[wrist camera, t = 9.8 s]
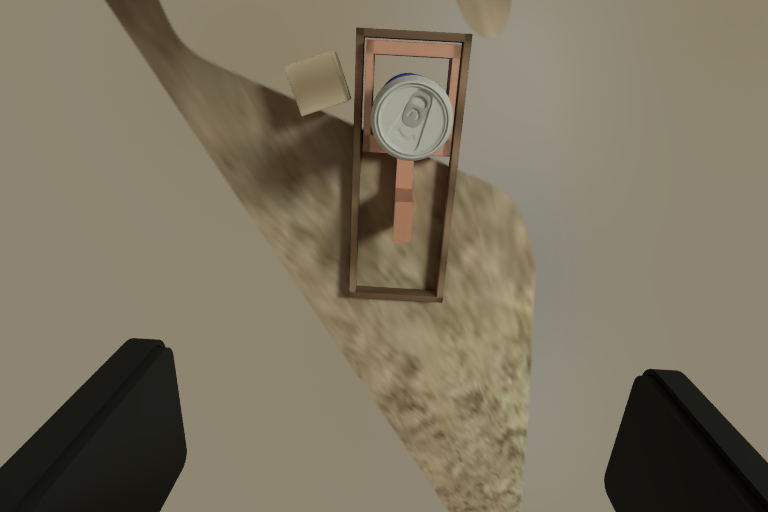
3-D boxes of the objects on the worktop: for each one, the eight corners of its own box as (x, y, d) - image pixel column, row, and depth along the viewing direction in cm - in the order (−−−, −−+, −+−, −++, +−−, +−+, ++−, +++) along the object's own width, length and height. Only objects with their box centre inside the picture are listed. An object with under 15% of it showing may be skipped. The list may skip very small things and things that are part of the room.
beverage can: (419, 142, 43) (430, 177, 29) (369, 118, 42) (355, 142, 28) (445, 89, 41) (470, 99, 27) (393, 62, 40) (391, 59, 27)
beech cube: (294, 67, 41) (283, 66, 37) (336, 52, 40) (330, 50, 37) (310, 112, 42) (301, 116, 39) (351, 98, 42) (346, 101, 38)
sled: (368, 41, 40) (363, 36, 34) (457, 46, 40) (468, 42, 34) (362, 216, 46) (356, 238, 40) (439, 221, 46) (446, 244, 40)
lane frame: (357, 29, 40) (356, 27, 38) (469, 35, 39) (472, 34, 38) (350, 290, 49) (349, 297, 48) (440, 295, 49) (442, 302, 47)
